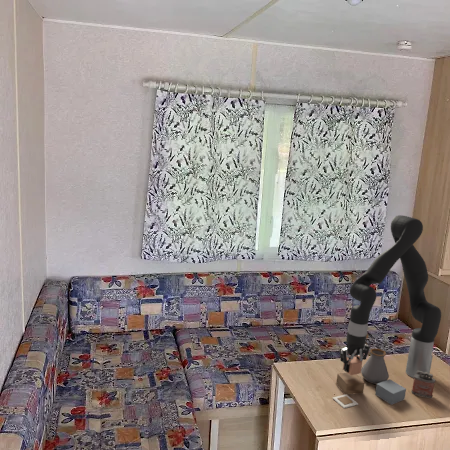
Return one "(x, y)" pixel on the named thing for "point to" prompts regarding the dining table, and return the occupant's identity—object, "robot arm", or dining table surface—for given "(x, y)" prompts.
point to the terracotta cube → (354, 366)
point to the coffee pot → (375, 367)
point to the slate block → (390, 391)
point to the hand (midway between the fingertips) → (351, 370)
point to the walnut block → (350, 383)
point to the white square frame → (345, 401)
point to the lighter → (423, 384)
